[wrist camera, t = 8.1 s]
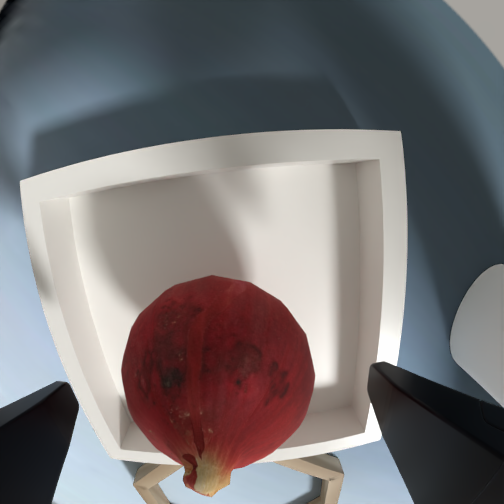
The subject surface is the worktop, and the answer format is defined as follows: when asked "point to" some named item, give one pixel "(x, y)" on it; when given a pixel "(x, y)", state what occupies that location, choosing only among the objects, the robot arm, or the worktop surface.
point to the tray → (228, 261)
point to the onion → (217, 377)
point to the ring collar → (312, 465)
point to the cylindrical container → (482, 332)
